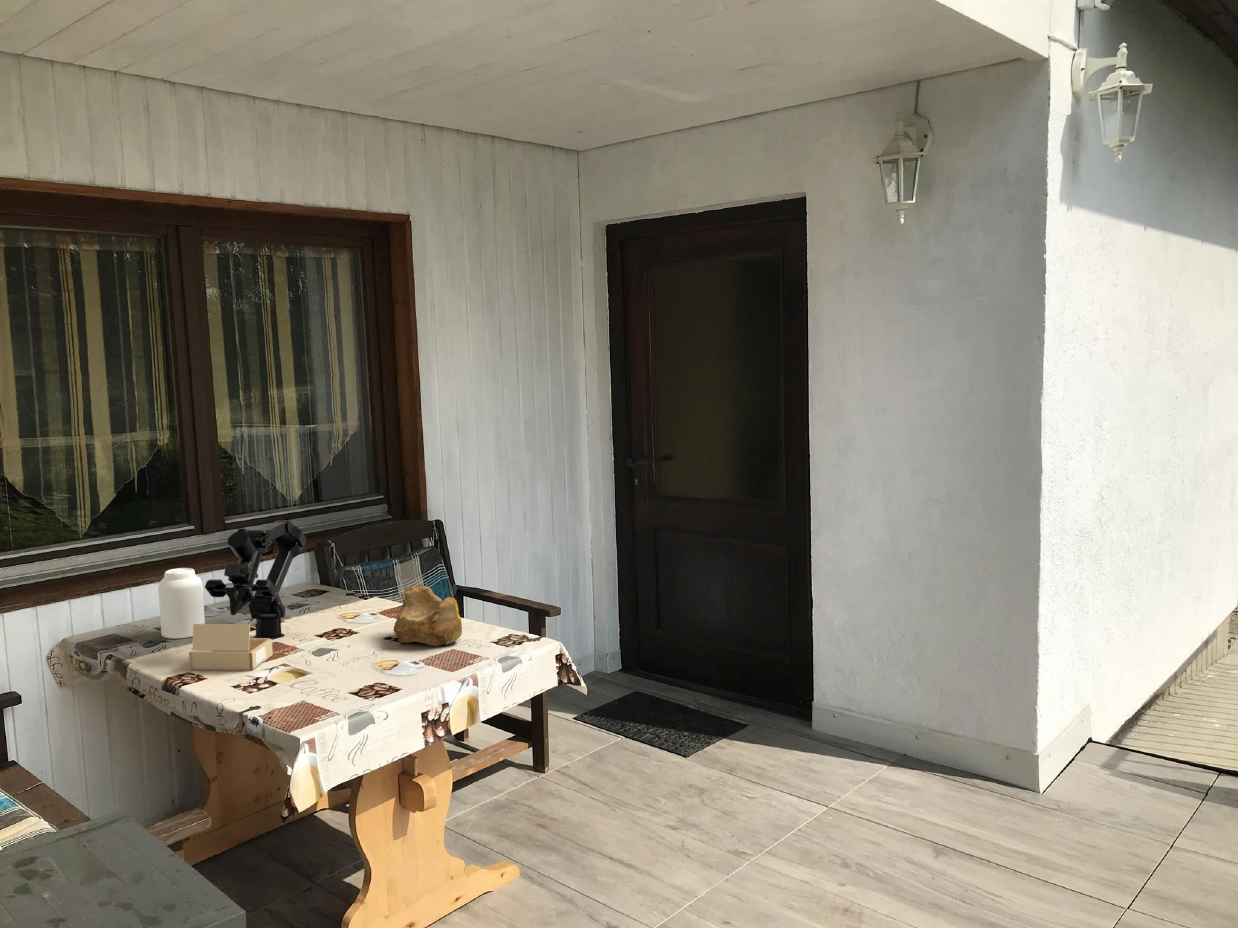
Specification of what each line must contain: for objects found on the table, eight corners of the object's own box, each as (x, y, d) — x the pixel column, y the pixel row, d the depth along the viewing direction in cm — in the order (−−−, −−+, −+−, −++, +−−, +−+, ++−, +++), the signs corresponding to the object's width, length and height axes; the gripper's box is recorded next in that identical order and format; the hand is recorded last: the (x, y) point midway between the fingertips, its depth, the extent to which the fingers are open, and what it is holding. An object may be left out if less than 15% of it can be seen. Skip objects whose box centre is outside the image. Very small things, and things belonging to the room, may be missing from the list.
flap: (192, 649, 269) (193, 623, 269) (249, 650, 267) (250, 624, 268) (192, 649, 268) (193, 623, 269) (248, 650, 267) (249, 624, 268)
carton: (212, 654, 282) (211, 637, 282) (274, 655, 281) (273, 638, 280) (189, 669, 269) (188, 651, 268) (253, 670, 268) (252, 652, 267)
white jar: (174, 641, 295) (170, 576, 293) (153, 635, 303) (148, 571, 301) (213, 632, 305) (209, 568, 303) (191, 625, 313) (187, 563, 310)
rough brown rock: (377, 641, 296) (372, 594, 293) (423, 625, 307) (419, 580, 304) (421, 660, 280) (417, 610, 277) (468, 642, 291) (464, 595, 288)
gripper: (205, 551, 279) (188, 599, 269) (269, 551, 278) (254, 599, 268) (220, 572, 288) (204, 619, 278) (282, 572, 286) (268, 620, 277)
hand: (232, 614), depth 275 cm, fingers closed
